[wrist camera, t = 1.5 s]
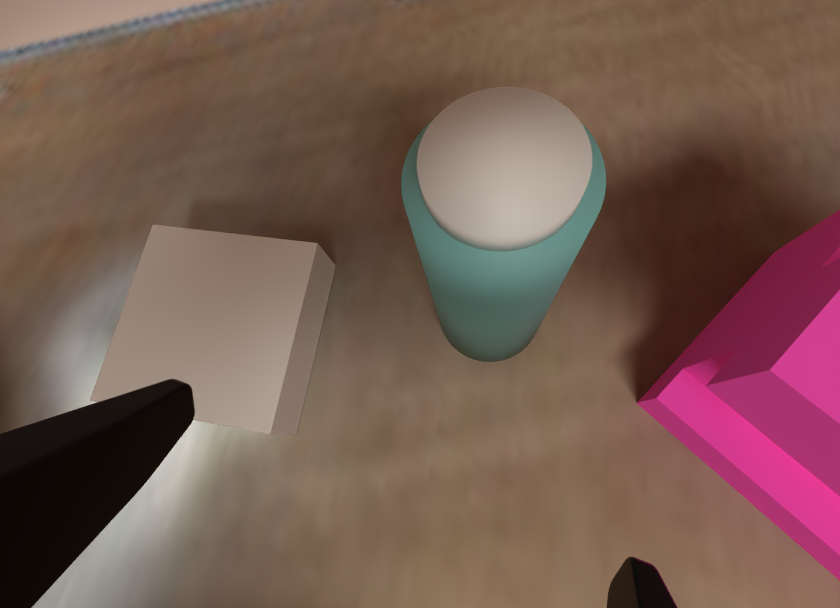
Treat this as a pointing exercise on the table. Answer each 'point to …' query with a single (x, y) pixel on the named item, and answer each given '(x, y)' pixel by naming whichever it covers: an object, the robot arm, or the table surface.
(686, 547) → the table surface
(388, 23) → the table surface
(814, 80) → the table surface
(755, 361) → the bracket
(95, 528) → the robot arm
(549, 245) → the thermos
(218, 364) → the block
